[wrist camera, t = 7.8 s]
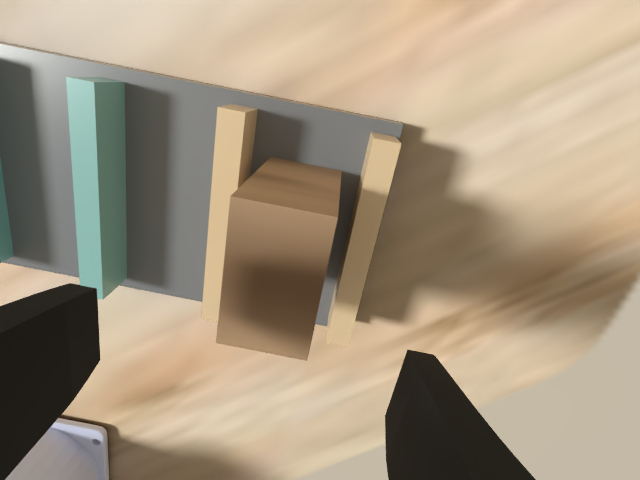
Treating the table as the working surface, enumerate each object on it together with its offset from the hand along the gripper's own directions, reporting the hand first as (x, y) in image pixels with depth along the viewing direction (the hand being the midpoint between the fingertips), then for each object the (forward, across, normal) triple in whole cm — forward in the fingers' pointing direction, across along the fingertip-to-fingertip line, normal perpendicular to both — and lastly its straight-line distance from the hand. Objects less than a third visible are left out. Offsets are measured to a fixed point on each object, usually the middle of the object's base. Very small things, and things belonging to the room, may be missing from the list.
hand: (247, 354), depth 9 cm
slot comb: (+10, +6, 0) cm, 11 cm away
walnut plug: (+9, 0, 0) cm, 9 cm away
